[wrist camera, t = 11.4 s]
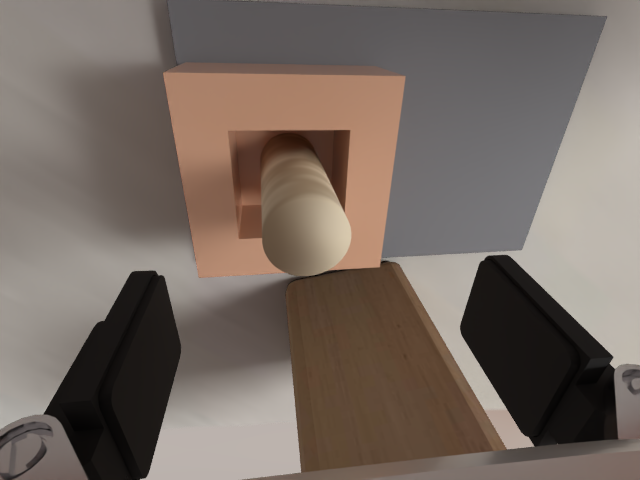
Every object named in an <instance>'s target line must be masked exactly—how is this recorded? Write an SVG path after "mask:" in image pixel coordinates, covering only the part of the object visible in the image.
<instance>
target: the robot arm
mask: <svg viewBox="0 0 640 480" xmlns="http://www.w3.org/2000/svg"><path fill="white" fill-rule="evenodd" d="M460 330H461V334H462V336H463V338H464V340H465V341H466V343H467V345H468V346H469V348H470V350H471V351H472V353H473V354H474V356H475V358H476V359H477V361H478V363H479V364H480V366H481V367H482V369H483V371H484V372H485V374H486V376H487V377H488V379H489V380H490V382H491V384H492V385H493V387H494V389H495V390H496V392H497V393H498V395H499V397H500V398H501V400H502V402H503V403H504V405H505V406H506V408H507V410H508V411H509V413H510V414H511V416H512V418H513V419H514V421H515V422H516V424H517V426H518V427H519V429H520V431H521V432H522V433H523V434H524V435H525V436H527V437H529V438H530V440H531V441H532V443H533V444H534V446H535V447H528V448H518V449H508V450H499V451H490V452H480V453H471V454H462V455H452V456H444V457H435V458H426V459H417V460H408V461H399V462H390V463H381V464H372V465H363V466H354V467H346V468H337V469H328V470H320V471H311V472H303V473H294V474H286V475H277V476H269V477H260V478H253V479H244V480H640V365H634V364H624V365H620V366H618V367H617V368H616V369H614V368H613V367H612V366H611V365H610V364H609V363H610V362H611V360H612V359H613V356H612V355H611V354H610V353H609V352H608V351H607V350H606V349H605V348H604V347H603V346H602V345H601V344H600V343H599V342H598V341H597V340H596V339H595V338H593V337H592V336H591V335H590V334H589V333H588V332H587V331H586V330H585V329H584V328H583V327H582V326H581V325H580V324H579V323H578V322H577V321H576V320H575V319H574V318H573V317H572V316H571V315H570V314H569V313H568V312H567V311H566V310H565V309H564V308H563V307H562V306H561V305H559V304H558V303H557V302H556V301H555V300H554V299H553V298H552V297H551V296H550V295H549V294H548V293H547V292H546V291H545V290H544V289H543V288H542V287H541V286H540V285H539V284H538V283H537V282H536V281H535V280H534V279H533V278H532V277H531V276H530V275H529V274H528V273H526V272H525V271H524V270H523V269H522V268H521V267H520V266H519V265H518V264H517V263H516V262H515V261H514V260H513V259H512V258H511V257H510V256H508V255H493V256H487V257H486V258H485V260H484V261H481V262H480V264H479V267H478V270H477V273H476V277H475V280H474V283H473V286H472V289H471V293H470V296H469V299H468V302H467V305H466V309H465V312H464V315H463V318H462V321H461V325H460ZM180 354H181V344H180V340H179V335H178V331H177V327H176V323H175V319H174V315H173V310H172V306H171V302H170V298H169V294H168V290H167V285H166V281H165V278H164V276H162V275H160V276H158V274H157V272H156V271H134V272H132V273H131V274H130V276H129V278H128V279H127V281H126V283H125V285H124V287H123V288H122V290H121V292H120V294H119V296H118V297H117V299H116V301H115V303H114V305H113V306H112V308H111V310H110V312H109V314H108V315H107V317H106V319H105V321H100V322H99V323H97V324H96V325H95V327H94V328H93V330H92V331H91V333H90V335H89V337H88V338H87V340H86V342H85V343H84V345H83V347H82V349H81V350H80V352H79V354H78V356H77V357H76V359H75V361H74V362H73V364H72V366H71V368H70V369H69V371H68V373H67V375H66V376H65V378H64V380H63V381H62V383H61V385H60V387H59V388H58V390H57V392H56V394H55V395H54V397H53V399H52V400H51V402H50V404H49V406H48V407H47V409H46V411H45V413H44V414H43V415H33V416H29V417H25V418H21V419H19V420H17V421H15V422H13V423H10V424H8V425H7V426H5V427H4V428H2V429H1V430H0V480H140V479H142V478H146V477H147V475H148V473H149V470H150V466H151V463H152V459H153V455H154V451H155V447H156V444H157V440H158V437H159V433H160V429H161V426H162V422H163V418H164V414H165V411H166V407H167V403H168V400H169V396H170V392H171V388H172V385H173V381H174V377H175V374H176V370H177V366H178V362H179V359H180Z"/></svg>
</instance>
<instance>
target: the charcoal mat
mask: <svg viewBox="0 0 640 480" xmlns="http://www.w3.org/2000/svg"><path fill="white" fill-rule="evenodd" d="M167 5H168V11H169V18H170V24H171V31H172V37H173V43H174V50H175V56H176V62H177V66H178V65H181V64H183V63H185V62H199V63H252V64H305V65H358V66H377V67H380V68H383V69H386V70H389V71H392V72H395V73H398V74H401V75H404V76H406V77H405V85H404V92H403V100H402V107H401V114H400V122H399V129H398V137H397V144H396V151H395V159H394V166H393V174H392V181H391V188H390V196H389V203H388V211H387V218H386V225H385V233H384V240H383V248H382V255H381V258H387V257H405V256H423V255H441V254H460V253H478V252H496V251H514V250H522V248H523V245H524V243H525V240H526V237H527V234H528V232H529V229H530V226H531V224H532V221H533V218H534V215H535V213H536V210H537V207H538V204H539V202H540V199H541V196H542V193H543V191H544V188H545V185H546V183H547V180H548V177H549V174H550V172H551V169H552V166H553V163H554V161H555V158H556V155H557V153H558V150H559V147H560V144H561V142H562V139H563V136H564V133H565V131H566V128H567V125H568V122H569V120H570V117H571V114H572V112H573V109H574V106H575V103H576V101H577V98H578V95H579V92H580V90H581V87H582V84H583V81H584V79H585V76H586V73H587V71H588V68H589V65H590V62H591V60H592V57H593V54H594V51H595V49H596V46H597V43H598V41H599V38H600V35H601V32H602V30H603V27H604V24H605V21H606V19H607V16H588V15H564V14H540V13H516V12H492V11H468V10H444V9H420V8H396V7H372V6H348V5H324V4H300V3H276V2H252V1H228V0H167Z"/></svg>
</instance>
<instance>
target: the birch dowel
mask: <svg viewBox="0 0 640 480" xmlns="http://www.w3.org/2000/svg"><path fill="white" fill-rule="evenodd" d="M261 208H262V244H263V249H264V252H265V254H266V256H267V258H268V259H269V261H270V262H271V263H272V264H273V265H274V266H275V267H276V268H278V269H279V270H281V271H283V272H285V273H288V274H291V275H295V276H313V275H317V274H320V273H323V272H325V271H327V270H329V269H331V268H333V267H334V266H335V265H336V264H338V263H339V262H340V261H341V260H342V258H343V257H344V256H345V254H346V253H347V251H348V248H349V246H350V242H351V227H350V224H349V221H348V219H347V217H346V215H345V213H344V211H343V209H342V206H341V204H340V202H339V200H338V198H337V196H336V194H335V192H334V189H333V187H332V185H331V183H330V181H329V179H328V177H327V175H326V173H325V170H324V168H323V166H322V164H321V162H320V160H319V158H318V156H317V153H316V151H315V149H314V147H313V146H312V144H311V143H310V142H309V141H308V140H307V139H306V138H304V137H303V136H301V135H298V134H295V133H283V134H279V135H277V136H275V137H273V138H272V139H270V140H269V141H268V142H267V144H266V145H265V146H264V148H263V150H262V153H261Z"/></svg>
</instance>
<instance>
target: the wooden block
mask: <svg viewBox="0 0 640 480" xmlns="http://www.w3.org/2000/svg"><path fill="white" fill-rule="evenodd" d="M285 296H286V307H287V318H288V329H289V341H290V352H291V363H292V374H293V385H294V396H295V407H296V418H297V429H298V440H299V451H300V463H301V473H303V472H311V471H320V470H328V469H337V468H346V467H354V466H363V465H372V464H381V463H390V462H399V461H408V460H417V459H426V458H435V457H444V456H452V455H462V454H471V453H480V452H490V451H499V450H507V449H506V447H505V445H504V443H503V442H502V440H501V439H500V437H499V435H498V433H497V432H496V430H495V428H494V426H493V425H492V423H491V421H490V420H489V418H488V416H487V414H486V413H485V411H484V409H483V408H482V406H481V404H480V402H479V401H478V399H477V397H476V396H475V394H474V392H473V390H472V389H471V387H470V385H469V384H468V382H467V380H466V378H465V377H464V375H463V373H462V372H461V370H460V368H459V366H458V365H457V363H456V361H455V360H454V358H453V356H452V354H451V353H450V351H449V349H448V348H447V346H446V344H445V342H444V341H443V339H442V337H441V336H440V334H439V332H438V330H437V329H436V327H435V325H434V324H433V322H432V320H431V318H430V317H429V315H428V313H427V312H426V310H425V308H424V306H423V305H422V303H421V301H420V300H419V298H418V296H417V294H416V293H415V291H414V289H413V288H412V286H411V284H410V282H409V281H408V279H407V277H406V276H405V274H404V272H403V270H402V269H401V267H400V265H399V264H397V263H396V262H384V263H380V267H375V268H358V269H350V270H345V271H340V272H335V273H330V274H325V275H320V276H315V277H310V278H305V279H300V280H295V281H293V282H292V283H290V284H288V287H287V290H286V294H285Z"/></svg>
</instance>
